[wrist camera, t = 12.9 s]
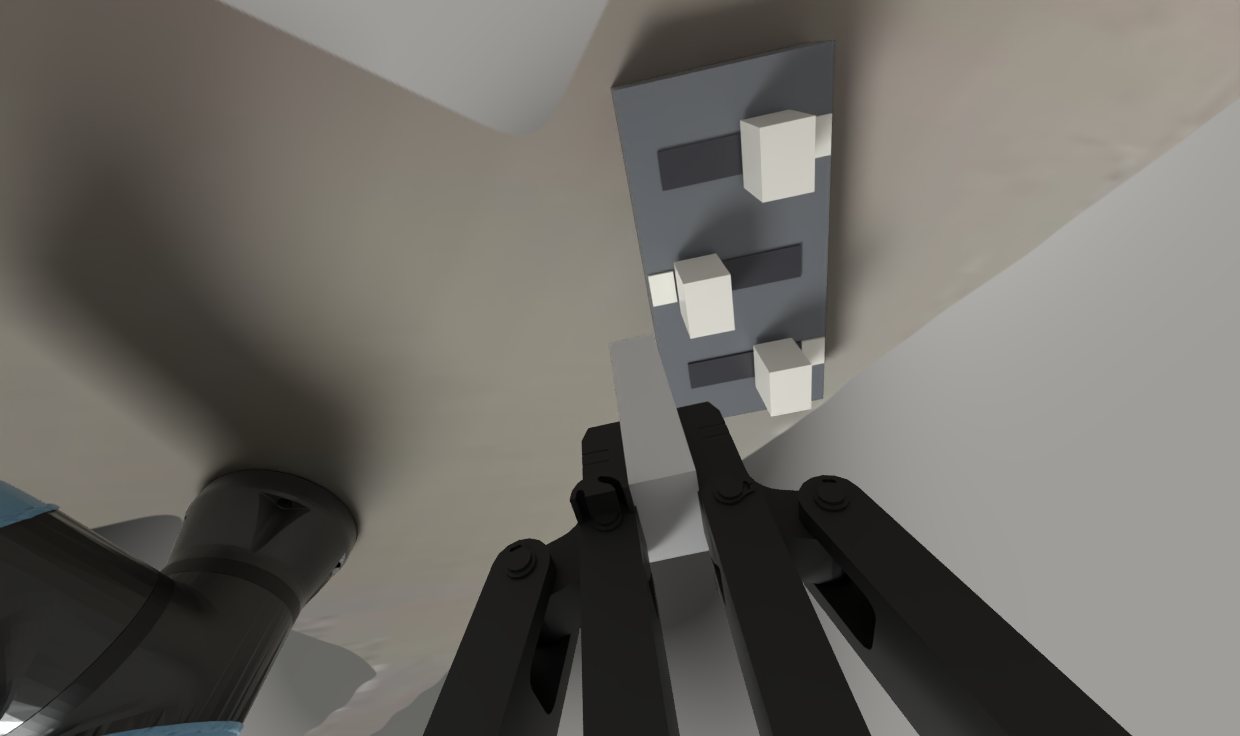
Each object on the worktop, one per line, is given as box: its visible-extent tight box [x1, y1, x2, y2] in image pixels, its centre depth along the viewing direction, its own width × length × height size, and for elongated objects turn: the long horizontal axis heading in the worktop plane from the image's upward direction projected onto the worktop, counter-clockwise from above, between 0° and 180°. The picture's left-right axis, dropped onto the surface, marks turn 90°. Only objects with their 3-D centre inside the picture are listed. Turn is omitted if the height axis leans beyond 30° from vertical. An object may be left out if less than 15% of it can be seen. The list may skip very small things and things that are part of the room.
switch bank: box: [611, 40, 835, 418], centre depth 37 cm, size 13×26×4 cm, turn 11°
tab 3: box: [753, 338, 812, 416], centre depth 38 cm, size 3×4×4 cm
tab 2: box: [740, 109, 816, 203], centre depth 29 cm, size 3×4×4 cm
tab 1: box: [674, 253, 735, 339], centre depth 34 cm, size 3×4×4 cm
